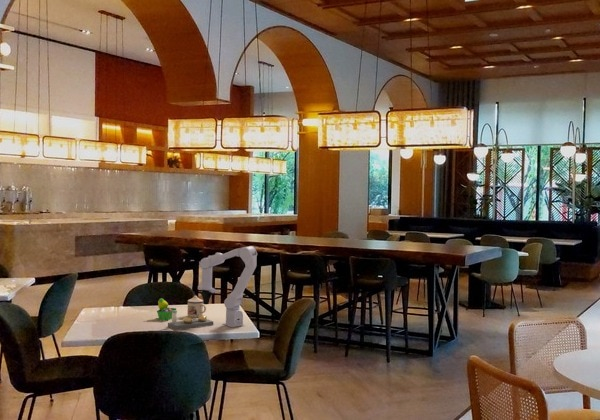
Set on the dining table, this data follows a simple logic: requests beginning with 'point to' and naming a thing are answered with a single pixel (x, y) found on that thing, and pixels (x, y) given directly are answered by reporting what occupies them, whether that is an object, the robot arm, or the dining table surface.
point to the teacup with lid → (195, 307)
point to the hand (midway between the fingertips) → (206, 304)
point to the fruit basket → (164, 310)
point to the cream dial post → (174, 316)
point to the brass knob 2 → (202, 318)
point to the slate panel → (190, 324)
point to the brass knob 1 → (187, 320)
